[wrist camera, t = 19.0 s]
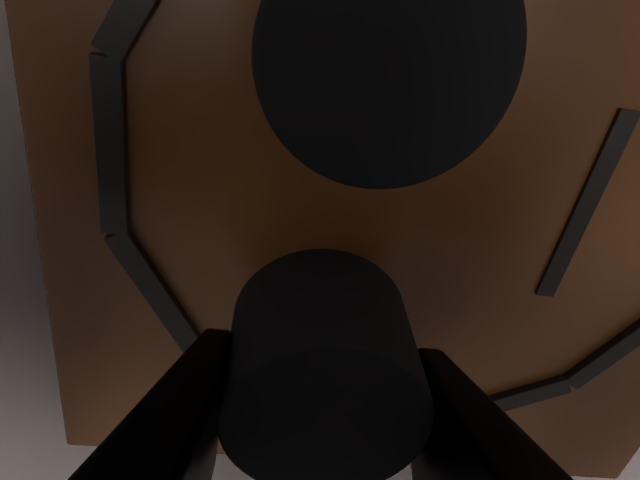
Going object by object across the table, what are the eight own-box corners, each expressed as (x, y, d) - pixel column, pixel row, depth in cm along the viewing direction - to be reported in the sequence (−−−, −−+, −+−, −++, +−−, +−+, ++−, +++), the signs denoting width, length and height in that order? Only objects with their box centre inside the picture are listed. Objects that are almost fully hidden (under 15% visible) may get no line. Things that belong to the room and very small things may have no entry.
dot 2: (228, 373, 10) (209, 491, 8) (240, 237, 8) (221, 334, 6) (382, 386, 10) (406, 501, 8) (422, 257, 9) (464, 357, 7)
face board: (80, 413, 13) (62, 452, 12) (-35, -598, 5) (-114, -728, 4) (599, 449, 15) (621, 486, 14) (1076, -273, 7) (1209, -311, 6)
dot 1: (254, 118, 8) (239, 175, 6) (275, -107, 7) (265, -134, 5) (433, 144, 9) (479, 205, 7) (492, -64, 7) (576, -71, 5)
